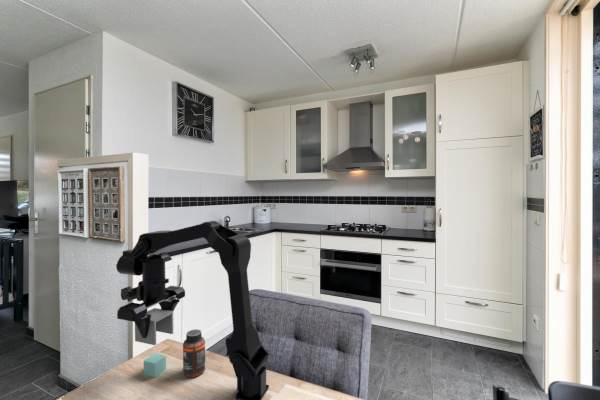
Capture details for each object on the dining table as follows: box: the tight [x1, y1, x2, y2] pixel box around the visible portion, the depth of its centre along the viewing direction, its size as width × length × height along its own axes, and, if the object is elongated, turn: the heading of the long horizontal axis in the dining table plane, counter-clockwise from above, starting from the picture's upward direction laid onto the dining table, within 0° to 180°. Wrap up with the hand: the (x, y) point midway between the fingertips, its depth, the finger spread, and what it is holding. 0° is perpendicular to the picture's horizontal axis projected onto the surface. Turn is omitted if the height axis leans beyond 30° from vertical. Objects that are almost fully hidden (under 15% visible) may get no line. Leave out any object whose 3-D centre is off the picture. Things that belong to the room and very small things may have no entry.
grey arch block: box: [134, 307, 174, 346], centre depth 82 cm, size 7×7×6 cm
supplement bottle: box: [182, 328, 206, 378], centre depth 82 cm, size 6×6×11 cm
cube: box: [143, 352, 167, 379], centre depth 82 cm, size 4×4×4 cm
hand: (154, 331), depth 82 cm, fingers closed on grey arch block, 7 cm apart
